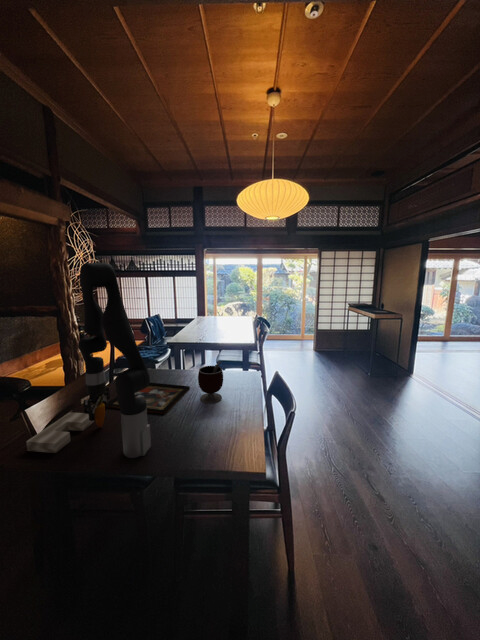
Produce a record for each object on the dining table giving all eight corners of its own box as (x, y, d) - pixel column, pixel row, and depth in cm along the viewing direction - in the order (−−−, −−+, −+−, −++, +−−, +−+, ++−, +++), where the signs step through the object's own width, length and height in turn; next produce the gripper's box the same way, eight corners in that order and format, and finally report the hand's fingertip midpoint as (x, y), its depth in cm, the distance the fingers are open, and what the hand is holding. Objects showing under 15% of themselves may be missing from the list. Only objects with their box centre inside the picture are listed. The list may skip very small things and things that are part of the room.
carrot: (92, 427, 115) (89, 396, 113) (104, 423, 118) (102, 392, 116) (96, 432, 112) (93, 399, 109) (108, 427, 115) (105, 396, 113)
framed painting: (191, 386, 160) (191, 382, 160) (171, 416, 126) (171, 411, 125) (134, 384, 164) (134, 380, 163) (99, 413, 129) (98, 408, 129)
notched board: (94, 421, 120) (93, 413, 119) (55, 453, 98) (54, 443, 97) (70, 420, 121) (69, 412, 120) (27, 450, 99) (26, 441, 99)
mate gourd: (211, 407, 134) (210, 370, 130) (193, 399, 142) (192, 365, 139) (230, 396, 146) (230, 363, 143) (212, 390, 154) (212, 358, 151)
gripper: (93, 388, 104) (96, 424, 107) (113, 375, 118) (115, 407, 121) (76, 387, 105) (79, 423, 107) (98, 374, 119) (100, 406, 121)
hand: (98, 415), depth 114 cm, fingers open, 8 cm apart
